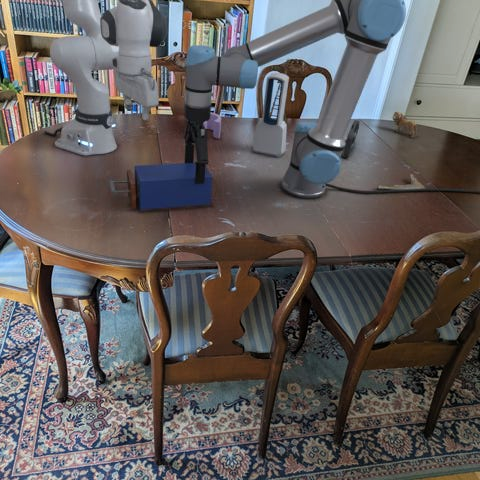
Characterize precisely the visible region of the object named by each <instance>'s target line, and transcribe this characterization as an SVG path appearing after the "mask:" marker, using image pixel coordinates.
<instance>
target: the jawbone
mask: <svg viewBox="0 0 480 480" xmlns="http://www.w3.org/2000/svg"><path fill="white" fill-rule="evenodd" d="M409 179H410V184H409V183H408V184H393V186H388V185H386V186H385V185H380V184H378V185H377V186H376V188H377V189H378V190H400V189H426V187H425V185H424V184H422V183H421V182H419V181H418V179H417V177H415V176H414V174H413V173H410V174H409Z"/></svg>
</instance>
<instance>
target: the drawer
mask: <svg viewBox="0 0 480 480" xmlns="http://www.w3.org/2000/svg"><path fill="white" fill-rule="evenodd" d="M119 184H127V189H125V190H117V189H116V185H119ZM108 186H109V189H110V194H111V196H116V195H117V194H119V195H120V194H127V196H128V199H129V203H130V207H131V209H132V210H133V209H134V210H135V209H136V210H137V198H136V190H135V177H134V175H133V172H132V169H126V180H113V179H110V180H108ZM137 194H138V198H139V201H140V187H139V180H138V177H137Z"/></svg>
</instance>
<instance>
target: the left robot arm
mask: <svg viewBox="0 0 480 480" xmlns="http://www.w3.org/2000/svg"><path fill="white" fill-rule="evenodd" d="M61 1H62V6H63V11H64V15H65V17H66V19H67V20H68V21H69V22H70V23H72V24H73V25H76V26H77V27H79V28H80V29H81V30H83V31H84V32H85V35H67V36H63V37H60V38H55V39H53V41H52V42H51V44H50V46H49V57H50V59H51V62H52V63H53V65H54V66H55V68H57V69H58V70H59V71H60V72H62V73H64V74H65V75H66V76H67V77H68V78H69V80H70V81H71V83H72V85H73V87H74V90H75V94H76V101H77V108H76V109H75V110H74V111H71V115H72V116H74V115H75V116H74V118H73V119H72V120H71V121H69V122H68V123H67V124H65V125H64V126H62V127H59V128H57V129H56V130H54V133H51V132H48V130H44V135H48V136H50V137H56V136H57V134H58V133H59V135H60V137H59V138H57V139H56V140H55V142H54V146H55V147H57V148H59V149H62V150H65V151H69V152H72V153H74V154H78V155H80V156H84V157H85V156H86V157H87V156H92V155H105V154H108V153H111V152H114V151H115V150H116V149H117V148H118V145H117V142H116V140H115V135H114V131H113V127H116V124H113V111H112V109H111V97H110V90H109V87H108V86H107V85H106V84H105V83H103V82H102V81H100V80H98V79H95V78H93V75H92V72H94V71H110V70H111V71H112V70H113V81H114V87H115V89H116V91H117V92H119V93H121V94H122V98H123V101H124V105H125V110H127V111H129V112H130V111H134V104H133V102H132V101H134V102H136V103H138V104H139V105H141V108H142V111H141V112H140V119H141V120H143V121H148V120H149V119H150V112H151V110H152V109H153V108H157V107H158V106H159V104H160V101H159V100H160V98H159V88H158V87H159V85H158V82H157V79H156V78H155V77H154V75H153V73H152V50H151V48H158V47H159V46H160V45H162V43H163V42H164V41H165V39H166V38H167V36H168V24H167V21H166V18H165V16H164V15H163V14H162V12H161V11H160V10H159V8H158V7H157V6H156V5H155V4H154V2H153V0H117V4H116V6H115V7H113V8H110V9H106V10H105V11H104V12H103V13H101V10H100V6H99V2H98V0H61Z"/></svg>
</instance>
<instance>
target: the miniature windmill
mask: <svg viewBox="0 0 480 480" xmlns="http://www.w3.org/2000/svg"><path fill="white" fill-rule="evenodd" d="M288 66H289V58H287V60H286V64H285V67H282V66H279V65H277V64H276V65H275V64H273V71H275V72H276V71H278V72H279V71H281V70H282V74H285V75H287V74H288V68H289V67H288ZM276 83H277V84H278V87H277V90H276V93H275V97H274V101H273V103H272V105H271V108H270V116H269V117H270V118H272V117H276V118H277V115H274V114H273V112H274V110H277V111H278V108H275V107H278V104H276V102H277V100H279V96H280V95H279V92H280V89H281V82H280V81H278V80H277V81H276ZM288 83H290V80H289V81H288ZM286 108H287V106H286V105H285V109H284V116H283V121H284V122H285V123H286V124H287V116H286V115H287V113H286Z"/></svg>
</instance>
